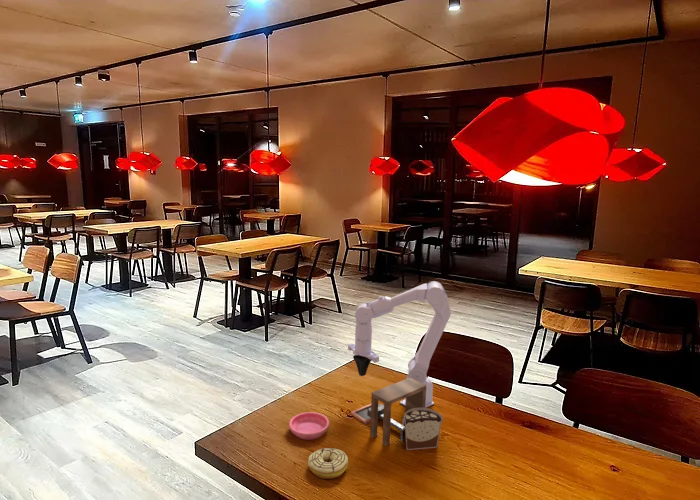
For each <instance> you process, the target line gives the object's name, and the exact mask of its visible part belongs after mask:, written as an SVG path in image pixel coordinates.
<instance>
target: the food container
mask: <svg viewBox="0 0 700 500" xmlns="http://www.w3.org/2000/svg"><path fill="white" fill-rule="evenodd" d="M405 411H406V410H405ZM442 423H444V418H443V415H442V414H441V413H439V412H438V411H436V410H434V409H431V408H429V407H426V408H412V409H410V410H408V411H406V413H405V412H404V414H403V416H402V421H401V425H403V426H405V440H404V441H405V449H406V451H412V450H425V449H434V448H438V445H439V438H440V432H441V426H442Z"/></svg>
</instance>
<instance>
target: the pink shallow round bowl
mask: <svg viewBox="0 0 700 500" xmlns="http://www.w3.org/2000/svg"><path fill="white" fill-rule="evenodd" d="M288 427H289V430H290V431H291V433H292V434H293V435H295V436H296V437H297V438H299V439H302V440H308V441H309V440H310V441H311V440H316V439H319V438H320V437H322V436H323V435H324V434H325V433H326V432H327V430H329V427H330V421H329V419H328V417H327V416H326V415H324V414H322V413H319V412H314V411H309V412H302V413H299V414H296V415H294V416H293V417H292V418H291V419H290V421H289V423H288Z"/></svg>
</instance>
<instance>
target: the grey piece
mask: <svg viewBox="0 0 700 500" xmlns="http://www.w3.org/2000/svg"><path fill="white" fill-rule="evenodd" d="M367 416H369V417H371V408H369V409H367ZM378 417H379V418H378V419H380V420H382V421H383V418H384V404H383V403H378ZM390 426H392V427H393V428H395V429H397V430H398V431H400V441H401V442H404V441H406V440H405V425H403V424H402V423H399V422H398V421H396V420H394V419H393V418H391V423H390Z"/></svg>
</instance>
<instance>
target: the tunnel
mask: <svg viewBox="0 0 700 500" xmlns="http://www.w3.org/2000/svg"><path fill="white" fill-rule="evenodd" d="M426 386H427V385H424V384H422V383H420V382H418V381H416V380H414V379H412V378H408V379H406V378H405V379H403V380H400V381H398V382H395V383H393V384H390V385H388V386H387V385H386V386H385V387H383V388H379V389H377V390H375V391H373V392H371V397H370V398H371V401H370V402H371V403H370V404H371V422H370V428H369V429H370V434H369V435H370V436H371V437H372V438H376V437H378V424H379V423H378V422H379V421H378V420H379V418H378V405H379V402H381V404H383V405H384V418H383V420H382V422H383V424H382V425H383V426H382V445H383V446H385V447H387V446H389V445H391V444H390V443H391V442H390V439H391V425H390V423H391V419H392V418H391V417H392V404H394V403H397V402H399V401H403V400H405V398H406V406H405V412H404V414H405V413H406V411H408V410H410V409H412V408H425V404H426Z"/></svg>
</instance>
